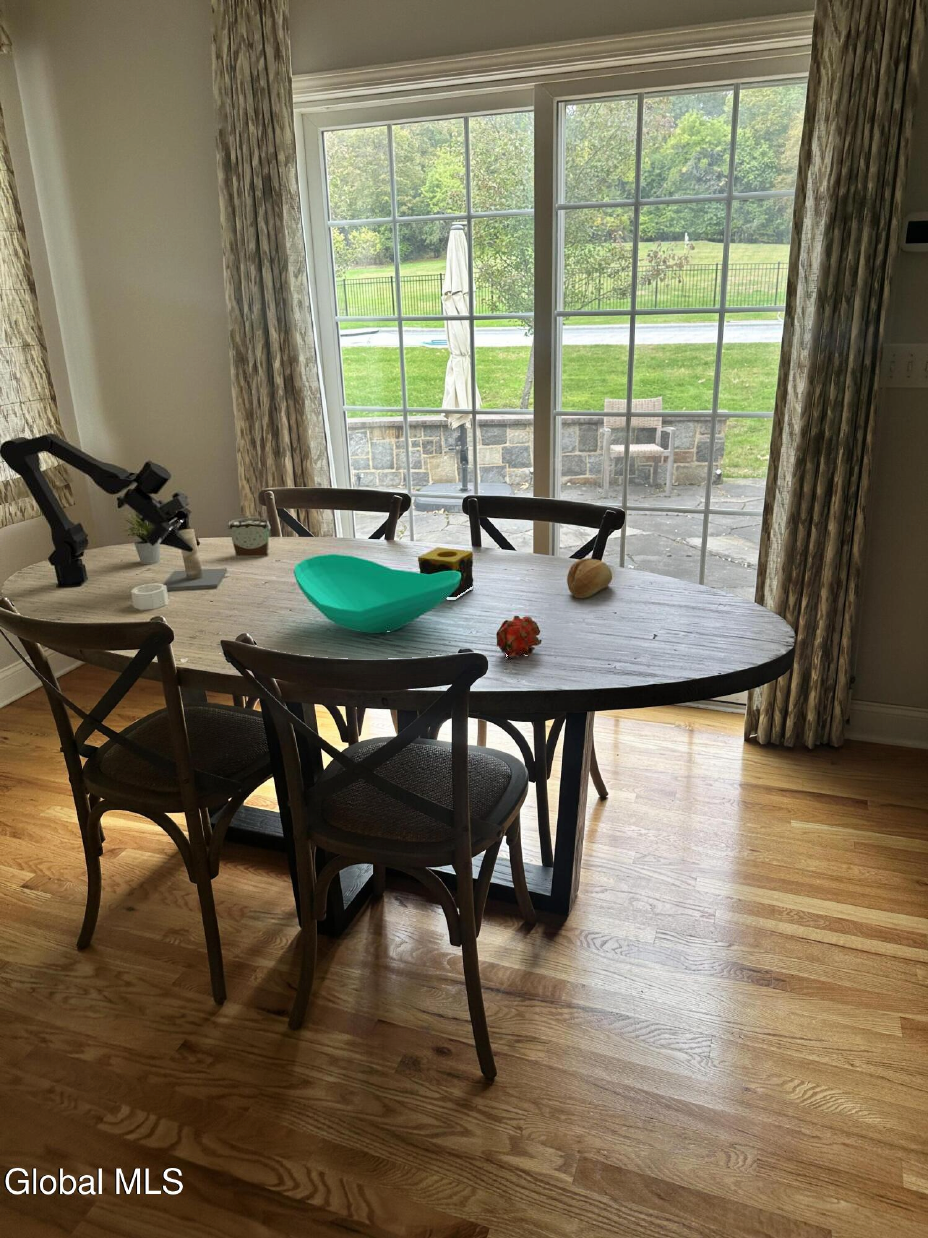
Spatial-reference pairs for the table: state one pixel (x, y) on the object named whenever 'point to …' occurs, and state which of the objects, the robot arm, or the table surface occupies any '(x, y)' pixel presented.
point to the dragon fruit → (518, 636)
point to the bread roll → (588, 577)
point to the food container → (250, 536)
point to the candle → (449, 565)
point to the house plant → (144, 541)
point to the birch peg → (191, 555)
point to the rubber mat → (195, 580)
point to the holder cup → (149, 596)
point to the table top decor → (370, 591)
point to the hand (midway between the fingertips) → (195, 547)
